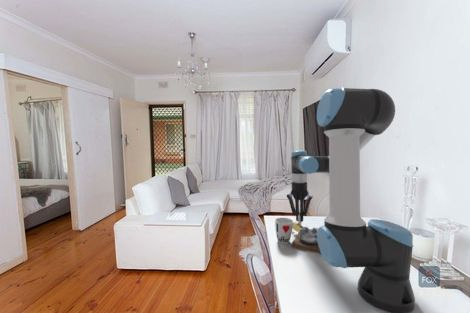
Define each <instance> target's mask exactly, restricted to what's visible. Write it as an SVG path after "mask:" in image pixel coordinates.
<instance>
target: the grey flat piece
mask: <svg viewBox="0 0 470 313" xmlns="http://www.w3.org/2000/svg"><path fill="white" fill-rule="evenodd" d="M318 228H319V227H312V228H309V227H308V226H303V225H302V224H301V225H300V224H298V222H297V221H293V227H292V230H293V231H294V232H297V234H298V233H299V240H300V241H301V242H302V243H304V244H307V245H312V246H318V240H317V231H318Z"/></svg>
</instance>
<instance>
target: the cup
mask: <svg viewBox="0 0 470 313" xmlns="http://www.w3.org/2000/svg"><path fill="white" fill-rule="evenodd" d="M274 222H275V223H274V224H275V225H274V226H275V234H276V238H277V242H278V243H279V244H283V245H286V244H288V243H289V242H290V240H291V239H292V238H291V237H292V234H293V233H292V231H293V229H292V227H293V222H294V220H293V219H291V218H287V217H277V218H275V221H274Z"/></svg>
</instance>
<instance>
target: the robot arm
mask: <svg viewBox="0 0 470 313" xmlns="http://www.w3.org/2000/svg"><path fill="white" fill-rule="evenodd" d="M395 114H396V105H395V101H394V100H393V98H392V97H391V95H390V94H389V93H387V92H386V91H385V90H384V91H383V90H382V89H378V88H355V87H354V88H352V87H351V88H349V87H348V88H347V87H339V88H338V87H337V88H329V89H327V90H326V91H325V92H324V93H323V95H321V98H320V100H319V103H318V105H317V110H316V122H317V124H318V126H320V127H322V128H323V134H324V135H325V136H326V137H328V144H329V145H328V152H329V153H328V155H326V156H325V155H319V156H318V155H308V152H307V150H304V149H303V150H302V149H301V150H299V149H298V150H292V151H291V154H290V160H291V165H290V166H291V191H290V192H289V193H287V195H286V198H287V199H288V202H289V205H290V206H289V207H290V210H291V213H292V214H294V215H295V220H296V221H295V222H297V223H298V224H300V225H301V226H302V223H303V221H304V216H307V214H308V210H309V209H310V208H309V207H310V204H311V200H312V199H313V197H314V196H313V195H311V194H309V192H308V175H309V174H315V173H316V174H317V173H318V174H319V173H321V174H323V173H325V174H326V173H327V174H328V176H329V177H328V178H329V180H328V181H329V182H328V183H329V184H328V186H329V187H328V189H329V192H328V194H329V195H328V196H329V202H328V203H329V205H328V206H329V214H328V215H327V216H326V217H325V218H324V219H323V220H324V223H323V224H324V225H320V226H319V227H317V228H318V231H317V240H318V245H319V249H320V252H321V254H320V255H321V256H322V258H323V260H324V261H325V263H327V265H329V266H330V267H333V268H342V269H347V268H364V269H363V270H362V273H361V274H360V276H359V278H358V280H357V292H358V293H359V295H360V296H361V298H363V300H365V301H366V302H367V303H369V304H371V305H372V306H373V307H376V308H378V309H380V310H384V311H387V312H390V313H410V312H412V311H413V310H414V309H415V304H416V298H415V293H414V290H413V287H412V284H411V281H410V279H411V278H410V275H411V266H412V255H413V247H414V243H413V241H414V240H413V233H412V232H411V231H410V230H409V229H408V228H406V227H404V226H401V225H400V224H396V223H394V222H391V221H388V220H383V219H375V218H372V219H370V220H368V222H367V223H366V221H365V220H364V219H363V218H362V216H361V176H360V175H361V172H360V171H361V166H360V165H361V159H360V157H361V156H360V154H361V152H360V151H361V150H362V149H363V148H365V146H366V145H367V144H368V143H369V142H370V141H372V139H373V138H374V137H376V136H379V135H381V134H383V133H384V132H385V131H386V130H387V129H389V127H390V126H391V124H392V123H393V121H394V118H395ZM306 197H307V201H306V203H304V202H305V199H306ZM293 199H294V200H293ZM294 202H295V203H294ZM304 204H305V205H304ZM304 206H305V207H304Z"/></svg>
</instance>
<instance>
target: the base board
mask: <svg viewBox="0 0 470 313" xmlns="http://www.w3.org/2000/svg"><path fill="white" fill-rule="evenodd" d="M291 248H292V249H298V250H301V251H306V252H311V253H315V254H319V255H322V254H321V252H320V249H319V245H318V246H312V245H307V244H304V243H302V242H301V241H300V240H299V233H298V232H297V234H296V236H295V237H294V239H293V240H292V242H291Z"/></svg>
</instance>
